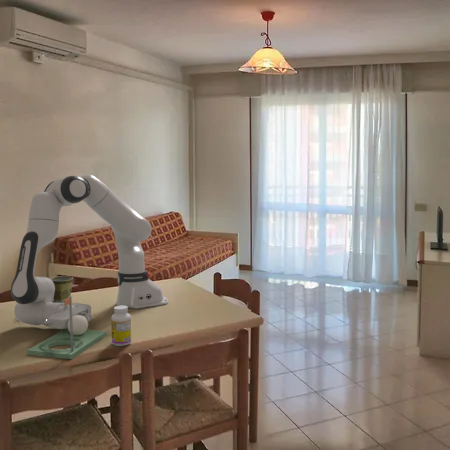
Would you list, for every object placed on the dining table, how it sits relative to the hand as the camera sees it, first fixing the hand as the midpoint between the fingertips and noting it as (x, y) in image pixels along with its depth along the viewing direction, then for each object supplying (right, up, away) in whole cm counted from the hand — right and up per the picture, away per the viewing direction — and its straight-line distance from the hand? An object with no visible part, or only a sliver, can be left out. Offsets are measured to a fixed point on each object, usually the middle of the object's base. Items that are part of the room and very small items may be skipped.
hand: (90, 317), depth 199 cm
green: (-4, -7, -12) cm, 14 cm away
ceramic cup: (-24, 0, +46) cm, 52 cm away
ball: (-3, -1, -7) cm, 7 cm away
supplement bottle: (+14, -7, -11) cm, 19 cm away
